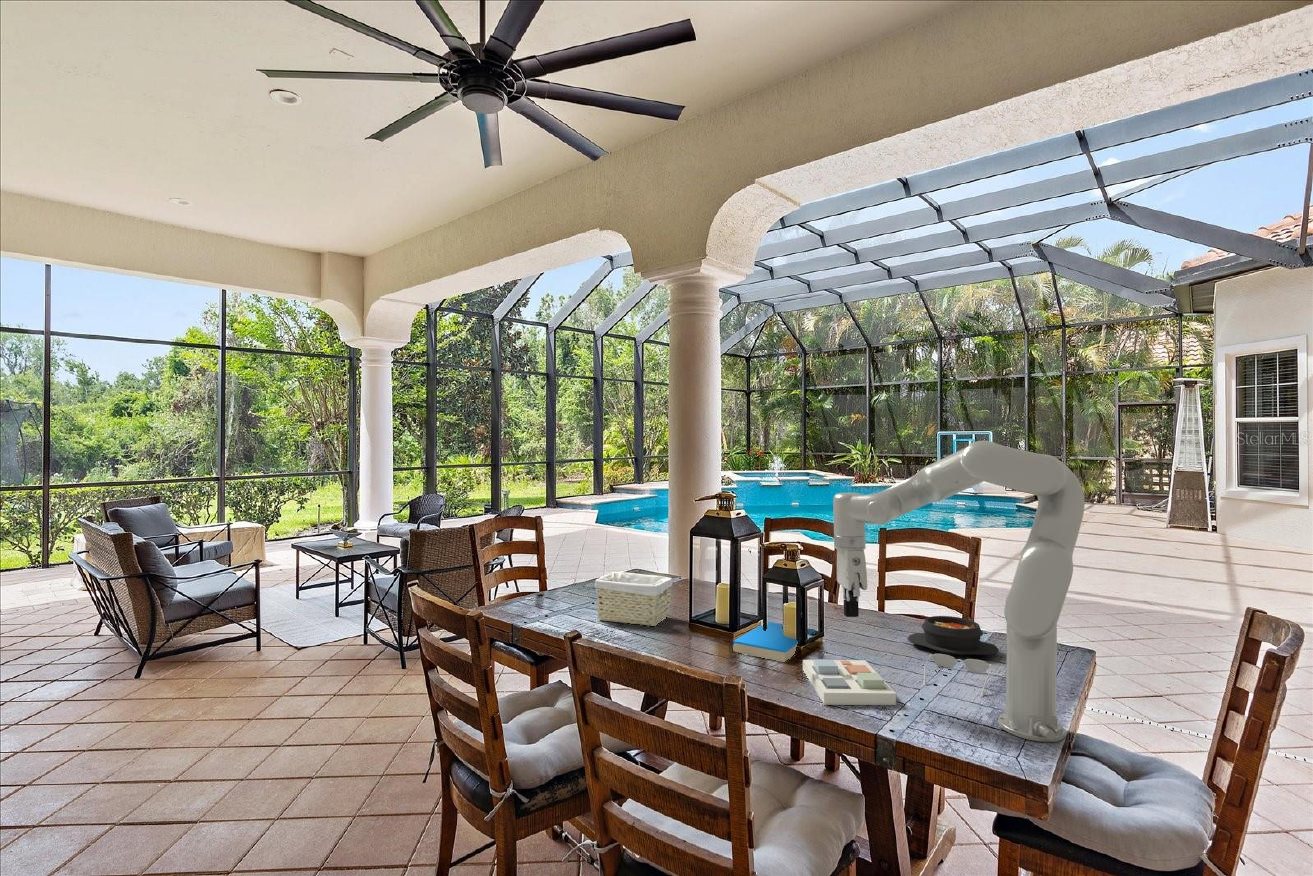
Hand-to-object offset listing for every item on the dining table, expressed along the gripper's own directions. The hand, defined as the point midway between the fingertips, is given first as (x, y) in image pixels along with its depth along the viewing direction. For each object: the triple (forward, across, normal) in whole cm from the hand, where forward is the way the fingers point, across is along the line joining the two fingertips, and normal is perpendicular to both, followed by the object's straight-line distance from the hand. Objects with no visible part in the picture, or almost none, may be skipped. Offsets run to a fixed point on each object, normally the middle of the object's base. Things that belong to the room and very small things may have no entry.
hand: (851, 616), depth 160 cm
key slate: (+18, -2, +5) cm, 19 cm away
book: (+19, +37, +12) cm, 43 cm away
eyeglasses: (+20, +9, -30) cm, 38 cm away
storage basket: (+18, +67, +56) cm, 89 cm away
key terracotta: (+18, +7, -4) cm, 20 cm away
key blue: (+16, +8, +5) cm, 19 cm away
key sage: (+17, -2, -4) cm, 17 cm away
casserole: (+20, +33, -41) cm, 56 cm away
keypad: (+19, +4, 0) cm, 20 cm away
